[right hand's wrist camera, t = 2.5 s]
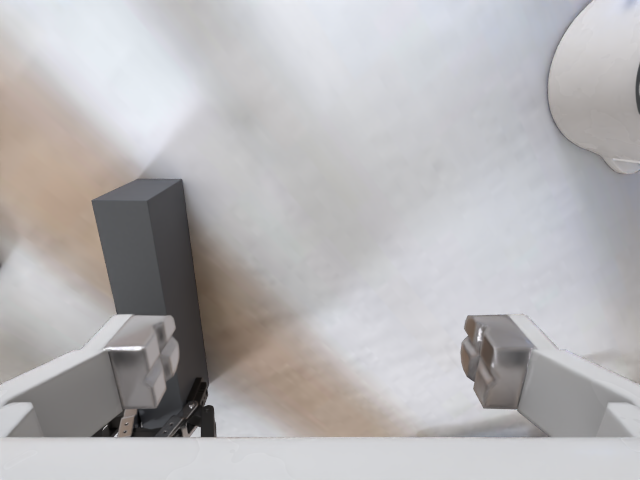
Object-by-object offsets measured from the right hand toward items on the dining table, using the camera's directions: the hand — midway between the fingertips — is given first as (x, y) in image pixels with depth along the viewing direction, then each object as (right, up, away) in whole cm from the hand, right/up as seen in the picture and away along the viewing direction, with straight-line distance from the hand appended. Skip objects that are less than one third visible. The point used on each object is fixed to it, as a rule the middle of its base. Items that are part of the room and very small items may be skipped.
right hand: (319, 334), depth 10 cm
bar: (-16, -3, +32) cm, 36 cm away
